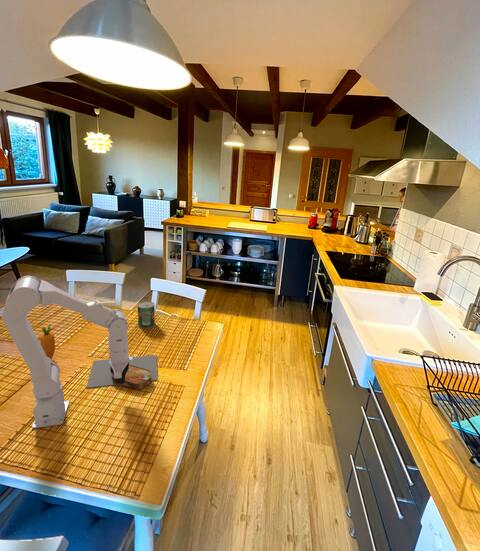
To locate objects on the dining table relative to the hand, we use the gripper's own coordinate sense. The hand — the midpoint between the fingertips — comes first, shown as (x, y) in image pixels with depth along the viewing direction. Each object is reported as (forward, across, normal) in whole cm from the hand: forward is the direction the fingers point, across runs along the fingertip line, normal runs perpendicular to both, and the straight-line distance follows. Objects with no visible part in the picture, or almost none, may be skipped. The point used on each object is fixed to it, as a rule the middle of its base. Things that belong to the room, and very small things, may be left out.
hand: (120, 382), depth 104 cm
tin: (+4, +4, 0) cm, 6 cm away
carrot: (+6, +26, +28) cm, 39 cm away
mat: (+6, +14, 0) cm, 15 cm away
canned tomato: (+6, +49, -8) cm, 50 cm away
